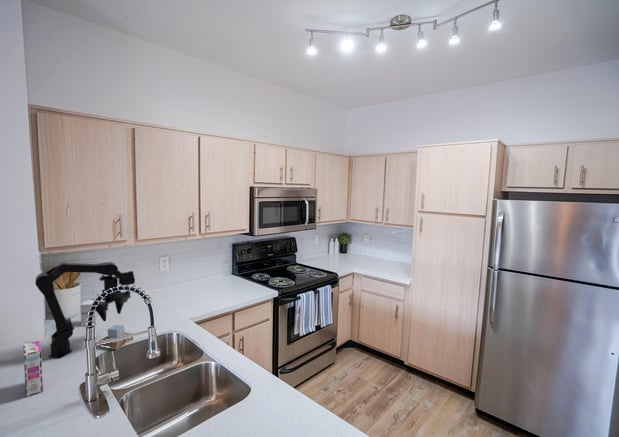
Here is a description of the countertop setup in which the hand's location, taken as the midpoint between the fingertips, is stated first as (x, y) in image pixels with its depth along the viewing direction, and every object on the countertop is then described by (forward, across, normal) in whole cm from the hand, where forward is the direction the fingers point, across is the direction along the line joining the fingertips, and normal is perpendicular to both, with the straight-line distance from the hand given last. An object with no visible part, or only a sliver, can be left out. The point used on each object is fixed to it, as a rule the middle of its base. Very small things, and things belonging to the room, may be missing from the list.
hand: (112, 317), depth 155 cm
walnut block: (+13, -2, -4) cm, 14 cm away
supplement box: (+12, +15, +28) cm, 34 cm away
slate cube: (+9, -3, -5) cm, 10 cm away
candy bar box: (+13, -38, 0) cm, 40 cm away
